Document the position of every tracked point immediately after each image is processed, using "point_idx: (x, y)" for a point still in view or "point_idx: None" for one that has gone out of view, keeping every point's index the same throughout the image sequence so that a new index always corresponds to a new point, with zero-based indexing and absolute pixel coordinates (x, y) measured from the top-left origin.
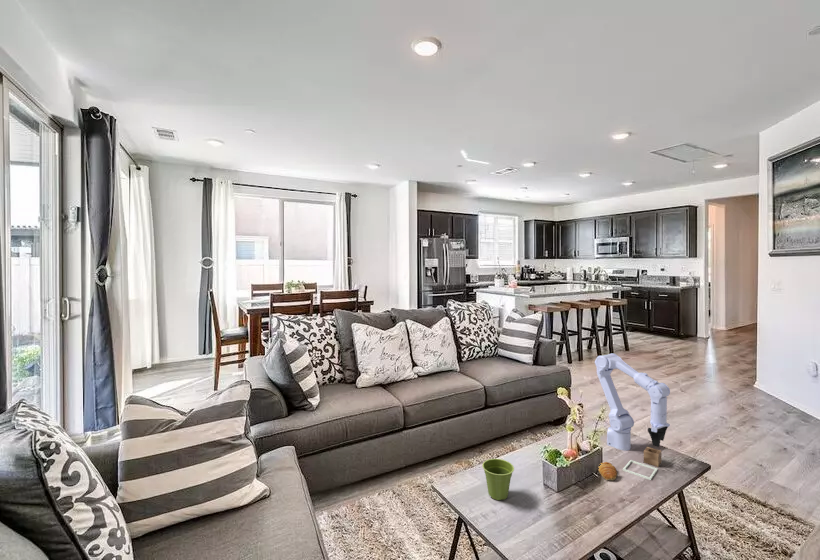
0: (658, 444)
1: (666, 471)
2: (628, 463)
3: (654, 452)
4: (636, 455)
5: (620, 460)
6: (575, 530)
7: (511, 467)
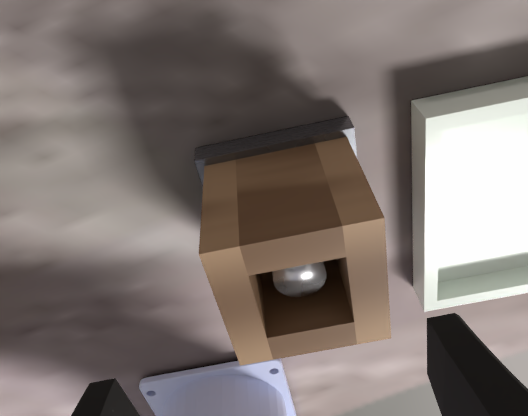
0: (489, 358)
1: (318, 54)
2: (505, 291)
3: (253, 276)
4: None
5: (417, 334)
6: None
7: None
